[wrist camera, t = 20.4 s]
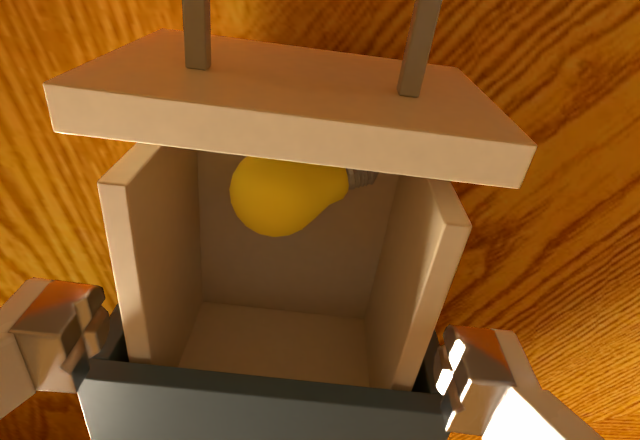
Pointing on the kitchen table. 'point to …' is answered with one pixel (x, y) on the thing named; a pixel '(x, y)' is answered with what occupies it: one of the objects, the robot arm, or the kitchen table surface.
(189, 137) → the wooden pull-out drawer
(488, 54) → the kitchen table surface
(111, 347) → the drawer cabinet
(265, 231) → the light bulb
